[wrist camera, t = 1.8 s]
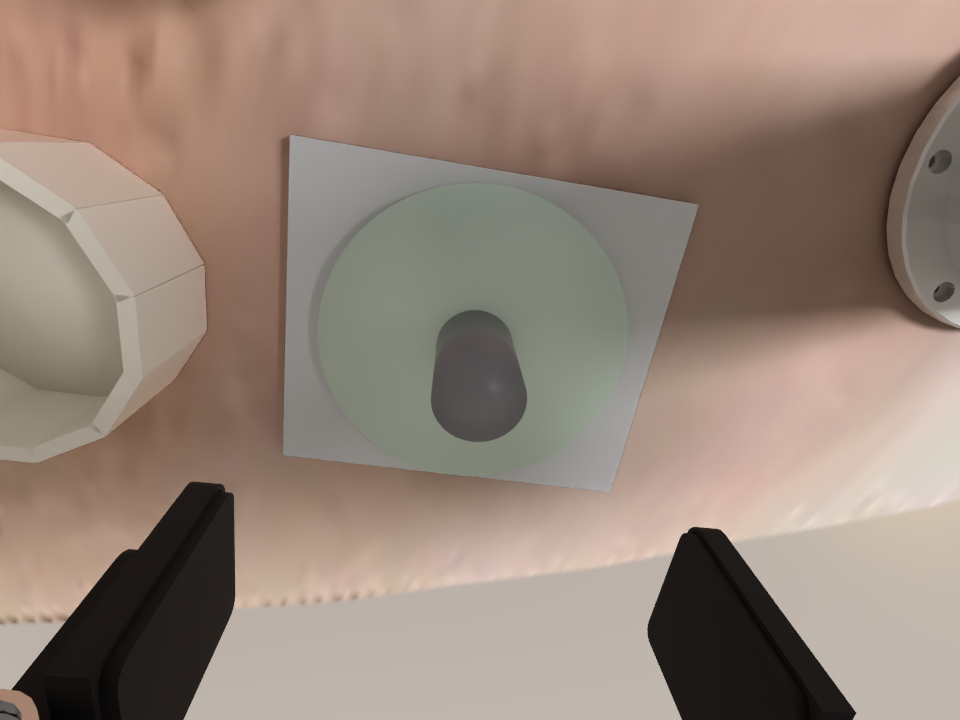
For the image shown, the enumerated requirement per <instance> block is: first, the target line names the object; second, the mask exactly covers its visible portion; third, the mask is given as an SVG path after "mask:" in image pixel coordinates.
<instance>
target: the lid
mask: <svg viewBox="0 0 960 720" xmlns="http://www.w3.org/2000/svg"><path fill="white" fill-rule="evenodd" d="M627 341H628V316H627V307H626V302H625V298H624V293H623V289H622V287H621V284H620V281H619V278H618V275H617V273H616V271H615V269H614V267H613V265H612V263H611V261H610V260H609V258H608V256H607V254H606V253H605V251H604V250H603V249H602V247H601V246H600V245H599V243H598V242H597V240H596V239H595V238H594V237H593V236H592V235H591V234H590V233H589V232H588V231H587V230H586V229H585V228H584V227H583V226H582V225H581V224H580V223H579V222H578V221H577V220H575V219H574V218H573V217H571V216H570V215H569V214H568V213H566V212H565V211H564V210H562V209H560V208H559V207H557V206H555V205H553V204H552V203H550V202H548V201H546V200H545V199H543V198H541V197H538V196H536V195H533V194H531V193H528V192H526V191H523V190H520V189H516V188H512V187H508V186H504V185H498V184H488V183H456V184H450V185H445V186H439V187H434V188H431V189H428V190H425V191H422V192H419V193H416V194H413V195H411V196H409V197H407V198H405V199H403V200H401V201H399V202H397V203H395V204H393V205H392V206H390V207H389V208H387V209H386V210H384V211H383V212H382V213H380V214H379V215H377V216H376V217H375V218H374V219H372V220H371V221H370V222H369V223H368V224H367V225H366V226H365V227H364V228H363V229H361V230H360V231H359V232H358V233H357V234H356V236H355V237H354V238H353V239H352V240H351V242H350V243H349V244H348V245H347V246H346V248H345V249H344V250H343V252H342V254H341V255H340V257H339V259H338V260H337V262H336V263H335V265H334V267H333V269H332V271H331V273H330V276H329V278H328V280H327V283H326V285H325V288H324V292H323V296H322V300H321V303H320V309H319V317H318V347H319V353H320V359H321V364H322V368H323V371H324V374H325V377H326V381H327V383H328V385H329V387H330V389H331V392H332V394H333V396H334V398H335V400H336V401H337V403H338V404H339V406H340V407H341V409H342V411H343V412H344V414H345V415H346V416H347V417H348V419H349V420H350V421H351V422H352V423H353V425H354V426H355V427H356V428H357V429H358V430H359V431H360V432H361V433H362V434H363V435H364V436H365V437H367V438H368V439H369V440H370V441H371V442H372V443H374V444H375V445H377V446H378V447H379V448H381V449H382V450H383V451H385V452H387V453H388V454H390V455H392V456H394V457H396V458H397V459H399V460H401V461H403V462H406V463H408V464H411V465H413V466H416V467H418V468H422V469H425V470H429V471H432V472H436V473H442V474H448V475H455V476H488V475H495V474H501V473H507V472H511V471H514V470H518V469H521V468H525V467H527V466H530V465H532V464H535V463H537V462H540V461H542V460H544V459H546V458H547V457H549V456H551V455H553V454H555V453H557V452H558V451H560V450H561V449H563V448H564V447H565V446H567V445H568V444H570V443H571V442H572V441H574V440H575V439H576V438H577V437H578V436H579V435H580V434H581V433H583V432H584V431H585V430H586V429H587V428H588V427H589V425H590V424H591V423H592V422H593V421H594V420H595V419H596V418H597V416H598V415H599V414H600V412H601V411H602V409H603V408H604V406H605V405H606V403H607V402H608V400H609V398H610V396H611V394H612V393H613V391H614V389H615V387H616V385H617V382H618V379H619V377H620V374H621V371H622V368H623V364H624V360H625V355H626V351H627Z"/></svg>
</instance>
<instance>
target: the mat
mask: <svg viewBox="0 0 960 720" xmlns="http://www.w3.org/2000/svg"><path fill="white" fill-rule="evenodd" d="M456 183H488V184H498V185H504V186H508V187H512V188H516V189H520V190H523V191H526V192H528V193H531V194H533V195H536V196H538V197H541V198H543V199H545V200H546V201H548V202H550V203H552V204H553V205H555V206H557V207H559V208H560V209H562V210H564V211H565V212H566V213H568V214H569V215H570V216H571V217H573V218H574V219H575V220H577V221H578V222H579V223H580V224H581V225H582V226H583V227H584V228H585V229H586V230H587V231H588V232H589V233H590V234H591V235H592V236H593V237H594V238H595V239H596V240H597V242H598V243H599V245H600V246H601V247H602V249H603V250H604V251H605V253H606V254H607V256H608V258H609V260H610V261H611V263H612V265H613V267H614V269H615V271H616V273H617V275H618V278H619V281H620V284H621V287H622V289H623V293H624V298H625V302H626V307H627V316H628V341H627V351H626V355H625V360H624V364H623V368H622V371H621V374H620V377H619V379H618V382H617V385H616V387H615V389H614V391H613V393H612V394H611V396H610V398H609V400H608V402H607V403H606V405H605V406H604V408H603V409H602V411H601V412H600V414H599V415H598V416H597V418H596V419H595V420H594V421H593V422H592V423H591V424H590V425H589V427H588V428H587V429H586V430H585V431H584V432H583V433H581V434H580V435H579V436H578V437H577V438H576V439H575V440H574V441H572V442H571V443H570V444H568V445H567V446H565V447H564V448H563V449H561V450H560V451H558V452H557V453H555V454H553V455H551V456H549V457H547V458H546V459H544V460H542V461H540V462H537V463H535V464H532V465H530V466H527V467H525V468H521V469H518V470H514V471H511V472H507V473H501V474H495V475H488V476H469V477H478V478H487V479H496V480H505V481H514V482H523V483H532V484H540V485H549V486H558V487H567V488H576V489H585V490H594V491H603V492H611V489H612V486H613V483H614V480H615V476H616V473H617V470H618V467H619V463H620V460H621V457H622V454H623V450H624V447H625V444H626V441H627V437H628V434H629V431H630V428H631V424H632V421H633V418H634V415H635V411H636V408H637V405H638V402H639V398H640V395H641V392H642V389H643V385H644V382H645V379H646V376H647V372H648V369H649V366H650V363H651V359H652V356H653V353H654V350H655V346H656V343H657V340H658V337H659V333H660V330H661V327H662V324H663V320H664V317H665V314H666V311H667V308H668V304H669V301H670V298H671V295H672V291H673V288H674V285H675V282H676V278H677V275H678V272H679V269H680V265H681V262H682V259H683V256H684V252H685V249H686V246H687V243H688V239H689V236H690V233H691V230H692V226H693V223H694V220H695V217H696V213H697V210H698V207H699V205H698V204H694V203H688V202H682V201H677V200H671V199H665V198H659V197H653V196H647V195H642V194H636V193H630V192H624V191H618V190H612V189H607V188H601V187H595V186H589V185H583V184H577V183H571V182H566V181H560V180H554V179H548V178H542V177H536V176H531V175H525V174H519V173H513V172H507V171H501V170H496V169H490V168H484V167H478V166H472V165H466V164H461V163H455V162H449V161H443V160H437V159H431V158H425V157H420V156H414V155H408V154H402V153H396V152H390V151H385V150H379V149H373V148H367V147H361V146H355V145H350V144H344V143H338V142H332V141H326V140H320V139H315V138H309V137H303V136H297V135H290V152H289V197H288V242H287V287H286V331H285V376H284V421H283V456H292V457H301V458H310V459H319V460H327V461H336V462H345V463H354V464H363V465H372V466H381V467H390V468H398V469H407V470H416V471H425V472H432V471H429V470H425V469H422V468H418V467H416V466H413V465H411V464H408V463H406V462H403V461H401V460H399V459H397V458H396V457H394V456H392V455H390V454H388V453H387V452H385V451H383V450H382V449H381V448H379V447H378V446H377V445H375V444H374V443H372V442H371V441H370V440H369V439H368V438H367V437H365V436H364V435H363V434H362V433H361V432H360V431H359V430H358V429H357V428H356V427H355V426H354V425H353V423H352V422H351V421H350V420H349V419H348V417H347V416H346V415H345V414H344V412H343V411H342V409H341V407H340V406H339V404H338V403H337V401H336V400H335V398H334V396H333V394H332V392H331V389H330V387H329V385H328V383H327V381H326V377H325V374H324V371H323V368H322V364H321V359H320V353H319V347H318V317H319V309H320V303H321V300H322V296H323V292H324V288H325V285H326V283H327V280H328V278H329V276H330V273H331V271H332V269H333V267H334V265H335V263H336V262H337V260H338V259H339V257H340V255H341V254H342V252H343V250H344V249H345V248H346V246H347V245H348V244H349V243H350V242H351V240H352V239H353V238H354V237H355V236H356V234H357V233H358V232H359V231H360V230H361V229H363V228H364V227H365V226H366V225H367V224H368V223H369V222H370V221H371V220H372V219H374V218H375V217H376V216H377V215H379V214H380V213H382V212H383V211H384V210H386V209H387V208H389V207H390V206H392V205H393V204H395V203H397V202H399V201H401V200H403V199H405V198H407V197H409V196H411V195H413V194H416V193H419V192H422V191H425V190H428V189H431V188H434V187H439V186H445V185H450V184H456ZM434 473H436V472H434Z"/></svg>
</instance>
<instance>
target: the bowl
mask: <svg viewBox="0 0 960 720" xmlns="http://www.w3.org/2000/svg"><path fill="white" fill-rule="evenodd" d="M203 264H204V262H203V261H202V259H201V257H200V256H199V254H198V252H197V251H196V249H195V247H194V246H193V244H192V242H191V241H190V239H189V237H188V235H187V234H186V232H185V230H184V229H183V227H182V225H181V224H180V222H179V220H178V219H177V217H176V215H175V214H174V212H173V210H172V209H171V207H170V205H169V203H168V202H167V200H166V198H165V197H164V195H162V193H160V192H159V191H157V190H156V189H155V188H153V187H152V186H150V185H149V184H148V183H146V182H145V181H143V180H142V179H140V178H139V177H138V176H136V175H135V174H133V173H132V172H130V171H129V170H128V169H126V168H125V167H123V166H122V165H120V164H119V163H118V162H116V161H115V160H113V159H112V158H110V157H109V156H108V155H106V154H105V153H103V152H102V151H100V150H99V149H98V148H96V147H95V146H93V145H92V144H91V143H87V142H81V141H75V140H68V139H62V138H56V137H50V136H44V135H38V134H32V133H26V132H20V131H14V130H7V129H0V459H1V460H10V461H20V462H29V463H38V462H41V461H43V460H46V459H49V458H51V457H54V456H56V455H59V454H62V453H64V452H67V451H70V450H72V449H75V448H77V447H80V446H83V445H85V444H88V443H91V442H93V441H96V440H98V439H101V438H104V437H105V436H107V435H108V434H109V433H110V432H112V431H113V430H114V429H115V428H116V427H118V426H119V425H120V424H121V423H122V422H124V421H125V420H126V419H127V418H129V417H130V416H131V415H132V414H133V413H135V412H136V411H137V410H138V409H139V408H141V407H142V406H143V405H144V404H146V403H147V402H148V401H149V400H150V399H152V398H153V397H154V396H155V395H156V394H158V393H159V392H160V391H161V390H163V389H164V388H165V387H166V386H167V385H169V384H170V383H171V382H172V381H173V380H175V379H176V377H177V376H178V374H179V373H180V371H181V370H182V368H183V367H184V365H185V363H186V362H187V360H188V359H189V357H190V356H191V354H192V353H193V351H194V350H195V348H196V347H197V345H198V344H199V342H200V341H201V339H202V338H203V336H204V335H205V333H206V332H207V317H206V291H205V265H203Z"/></svg>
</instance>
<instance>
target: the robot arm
mask: <svg viewBox="0 0 960 720" xmlns="http://www.w3.org/2000/svg"><path fill="white" fill-rule="evenodd" d="M886 230H887V244H888V255H889V258H890V261H891V265H892V268H893V271H894V275H895V277H896V279H897V281H898V282H899V284H900V286H901V287H902V289H903V291H904V292H905V294H906V296H907V297H908V298H909V299H910V300H911V301H912V302H913V303H914V304H915V305H916V306H917V307H918V308H919V309H921V310H922V311H923V312H924V313H926V314H928V315H930V316H932V317H933V318H935V319H937V320H939V321H941V322H942V323H945V324H948V325H951V326H954V327H957V328H960V76H959V77H958V78H957V79H956V80H955V81H954V83H953V84H952V85H951V86H950V87H949V88H948V89H947V91H946V92H945V93H944V94H943V95H942V96H941V97H940V98H939V100H938V101H937V102H936V103H935V105H934V106H933V108H932V109H931V111H930V112H929V114H928V115H927V117H926V118H925V120H924V121H923V123H922V124H921V126H920V127H919V129H918V130H917V132H916V133H915V135H914V137H913V139H912V141H911V143H910V145H909V147H908V149H907V151H906V154H905V156H904V158H903V160H902V162H901V164H900V166H899V169H898V173H897V176H896V179H895V183H894V186H893V189H892V192H891V196H890V201H889V209H888V217H887V225H886ZM234 602H235V547H234V496H233V494H232V493H228V492H225V488H224V486H223V485H222V484H213V483H202V482H190V483H189V484H188V485H187V486H186V487H185V489H184V490H183V491H182V493H181V494H180V495H179V497H178V498H177V499H176V501H175V502H174V503H173V504H172V506H171V507H170V508H169V510H168V511H167V512H166V514H165V515H164V516H163V518H162V519H161V520H160V522H159V523H158V524H157V525H156V527H155V528H154V529H153V531H152V532H151V533H150V535H149V536H148V537H147V539H146V540H145V541H144V542H143V544H142V545H141V546H140V548H139V549H138V550H133V549H128V550H126V551H124V552H122V553H121V554H120V555H119V556H118V557H117V558H116V560H115V561H114V562H113V563H112V565H111V566H110V567H109V568H108V570H107V571H106V572H105V573H104V575H103V576H102V577H101V578H100V580H99V581H98V582H97V583H96V585H95V586H94V587H93V588H92V590H91V591H90V592H89V593H88V595H87V596H86V597H85V598H84V600H83V601H82V602H81V603H80V605H79V606H78V607H77V608H76V610H75V611H74V612H73V613H72V615H71V616H70V617H69V618H68V620H67V621H66V622H65V623H64V625H63V626H62V627H61V629H60V630H59V631H58V632H57V633H56V635H55V636H54V637H53V638H52V640H51V641H50V642H49V643H48V645H47V646H46V647H45V648H44V650H43V651H42V652H41V653H40V655H39V656H38V657H37V659H36V660H35V661H34V662H33V663H32V665H31V666H30V667H29V668H28V670H27V671H26V672H25V673H24V675H23V676H22V677H21V678H20V680H19V681H18V682H17V683H16V685H15V686H14V687H13V688H12V690H6V689H0V720H183V719H184V717H185V715H186V713H187V711H188V708H189V706H190V704H191V702H192V700H193V697H194V695H195V693H196V690H197V689H198V686H199V684H200V682H201V680H202V678H203V675H204V673H205V671H206V669H207V667H208V664H209V662H210V660H211V658H212V656H213V653H214V651H215V649H216V647H217V645H218V643H219V640H220V638H221V636H222V634H223V632H224V629H225V627H226V625H227V623H228V621H229V618H230V616H231V613H232V610H233V606H234ZM648 638H649V642H650V644H651V647H652V649H653V652H654V654H655V656H656V659H657V661H658V664H659V666H660V668H661V671H662V673H663V675H664V678H665V680H666V683H667V685H668V687H669V689H670V692H671V694H672V697H673V699H674V702H675V704H676V706H677V709H678V711H679V713H680V716H681V718H682V720H853V718H854V716H855V714H856V712H855V711H854V709H853V708H852V707H851V705H850V704H849V703H848V701H847V700H846V698H845V697H844V696H843V694H842V693H841V692H840V690H839V689H838V687H837V686H836V685H835V683H834V682H833V681H832V679H831V678H830V677H829V675H828V674H827V672H826V671H825V670H824V668H823V667H822V666H821V664H820V663H819V662H818V660H817V659H816V658H815V656H814V655H813V654H812V652H811V651H810V649H809V648H808V647H807V645H806V644H805V643H804V641H803V640H802V639H801V637H800V636H799V634H798V633H797V632H796V630H795V629H794V628H793V626H792V625H791V624H790V622H789V621H788V620H787V618H786V617H785V615H784V614H783V613H782V611H781V610H780V609H779V607H778V606H777V605H776V603H775V602H774V600H773V599H772V598H771V596H770V595H769V594H768V592H767V591H766V589H765V588H764V587H763V585H762V584H761V583H760V581H759V580H758V579H757V577H756V576H755V575H754V573H753V572H752V570H751V569H750V568H749V566H748V565H747V564H746V562H745V561H744V560H743V558H742V557H741V556H740V554H739V553H738V551H737V550H736V549H735V547H734V546H733V545H732V543H731V542H730V541H729V539H728V538H727V536H726V535H725V534H724V533H723V532H722V531H721V530H719V529H711V528H700V527H692V528H691V529H690V530H689V531H688V533H684V534H683V535H682V536H681V537H680V540H679V542H678V545H677V548H676V550H675V553H674V556H673V558H672V561H671V564H670V567H669V569H668V572H667V575H666V577H665V580H664V583H663V585H662V588H661V591H660V594H659V596H658V599H657V601H656V604H655V607H654V609H653V612H652V615H651V617H650V620H649V623H648Z"/></svg>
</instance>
